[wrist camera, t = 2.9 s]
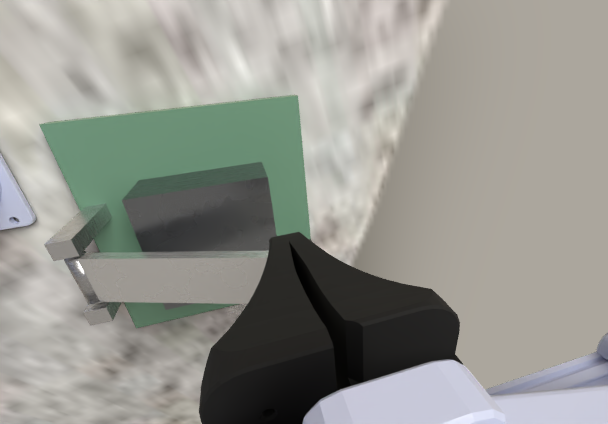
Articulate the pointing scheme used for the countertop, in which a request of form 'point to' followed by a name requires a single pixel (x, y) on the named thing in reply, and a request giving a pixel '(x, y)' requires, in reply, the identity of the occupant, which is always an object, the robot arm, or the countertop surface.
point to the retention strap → (169, 276)
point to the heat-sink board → (181, 150)
